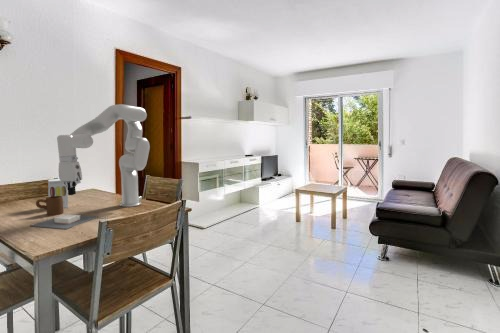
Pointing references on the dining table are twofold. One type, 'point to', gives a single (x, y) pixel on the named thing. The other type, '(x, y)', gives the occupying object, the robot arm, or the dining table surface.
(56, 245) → the dining table surface
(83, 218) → the mat
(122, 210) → the dining table surface
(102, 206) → the dining table surface
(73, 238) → the dining table surface
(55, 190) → the supplement box
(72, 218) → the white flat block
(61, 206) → the mug
